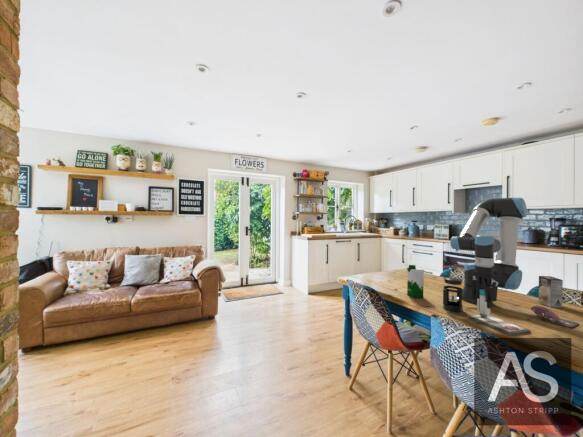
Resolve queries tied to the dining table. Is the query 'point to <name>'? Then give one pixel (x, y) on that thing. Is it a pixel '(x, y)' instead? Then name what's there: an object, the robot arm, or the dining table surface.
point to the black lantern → (451, 304)
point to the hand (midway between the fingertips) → (483, 312)
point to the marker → (482, 302)
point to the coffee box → (550, 291)
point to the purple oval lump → (544, 312)
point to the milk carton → (415, 281)
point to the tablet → (499, 324)
